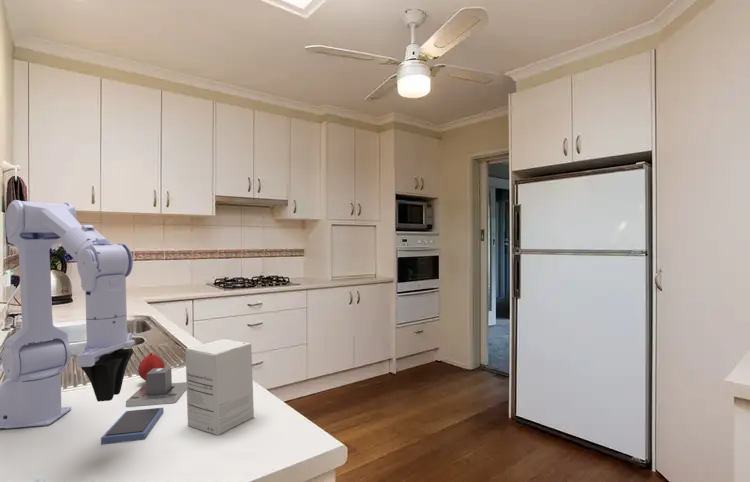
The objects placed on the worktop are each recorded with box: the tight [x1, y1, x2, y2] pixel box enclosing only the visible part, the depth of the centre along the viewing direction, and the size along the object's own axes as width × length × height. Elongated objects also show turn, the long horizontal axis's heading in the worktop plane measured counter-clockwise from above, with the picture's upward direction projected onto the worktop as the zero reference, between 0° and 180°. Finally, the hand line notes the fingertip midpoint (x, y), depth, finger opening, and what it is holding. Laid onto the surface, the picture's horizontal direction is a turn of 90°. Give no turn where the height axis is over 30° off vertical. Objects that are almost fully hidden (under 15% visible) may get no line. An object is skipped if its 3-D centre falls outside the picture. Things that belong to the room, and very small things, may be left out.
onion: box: [137, 351, 166, 382], centre depth 104 cm, size 6×6×8 cm
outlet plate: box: [125, 381, 187, 408], centre depth 95 cm, size 10×10×1 cm
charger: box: [145, 367, 173, 396], centre depth 95 cm, size 4×4×6 cm
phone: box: [100, 407, 164, 445], centre depth 80 cm, size 7×12×2 cm, turn 13°
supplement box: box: [185, 338, 255, 436], centre depth 81 cm, size 9×9×15 cm
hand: (108, 397), depth 70 cm, fingers open, 2 cm apart
